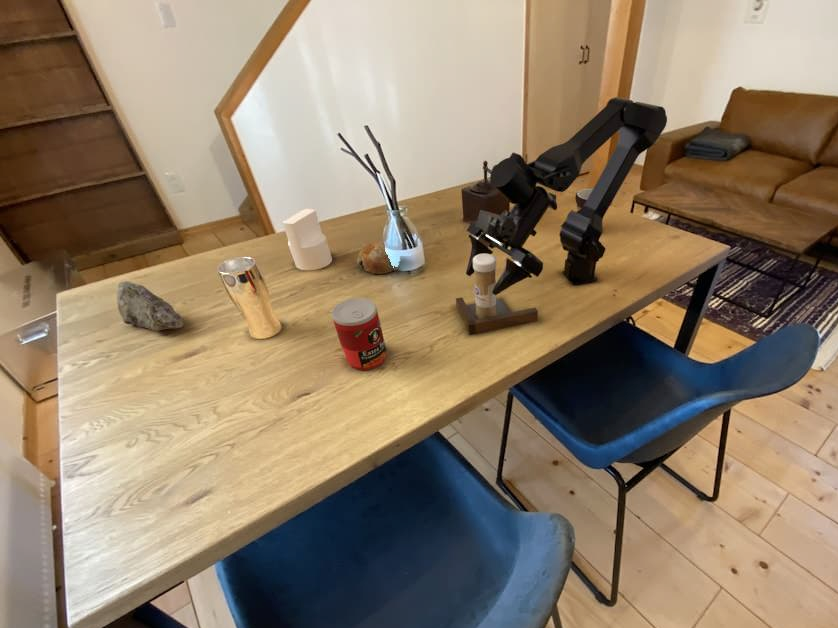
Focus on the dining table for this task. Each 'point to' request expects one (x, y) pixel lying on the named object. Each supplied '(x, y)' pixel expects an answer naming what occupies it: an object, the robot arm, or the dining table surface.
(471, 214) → the brown coffee grinder
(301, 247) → the base with upright slab
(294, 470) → the dining table surface
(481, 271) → the sprinkles bottle
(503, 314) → the corner guide
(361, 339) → the canned food
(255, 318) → the beer glass
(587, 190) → the coffee mug
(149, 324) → the mineral rock
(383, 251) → the bread roll
